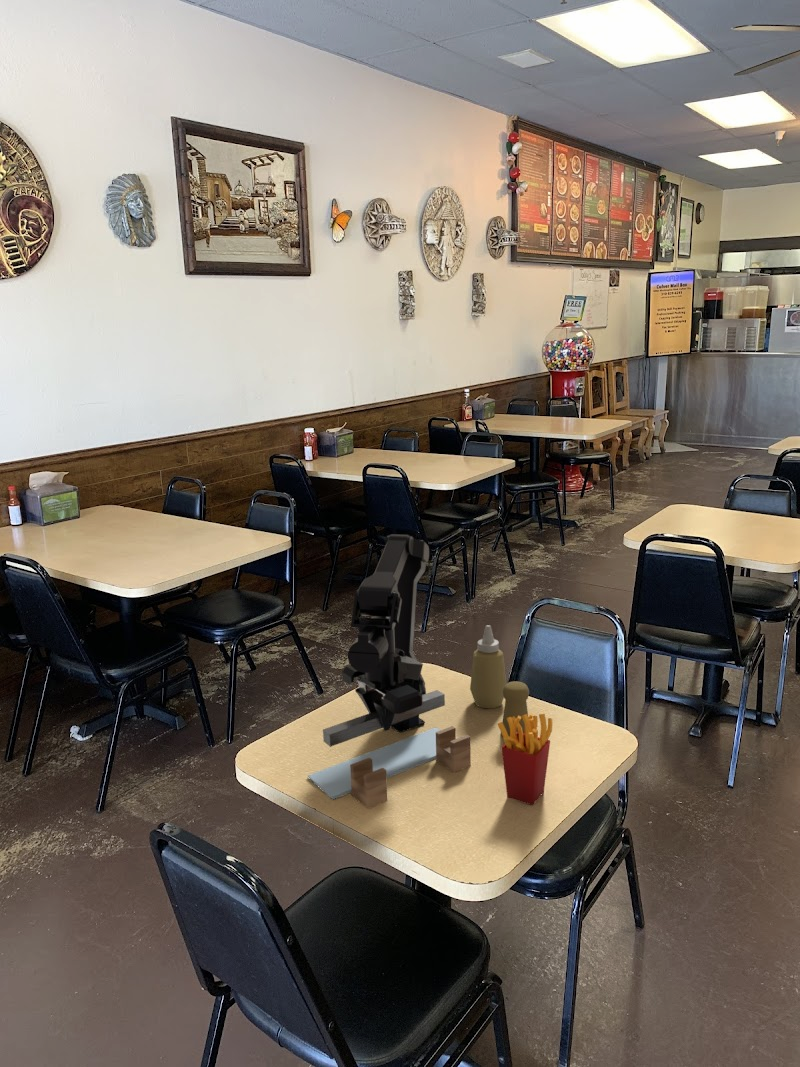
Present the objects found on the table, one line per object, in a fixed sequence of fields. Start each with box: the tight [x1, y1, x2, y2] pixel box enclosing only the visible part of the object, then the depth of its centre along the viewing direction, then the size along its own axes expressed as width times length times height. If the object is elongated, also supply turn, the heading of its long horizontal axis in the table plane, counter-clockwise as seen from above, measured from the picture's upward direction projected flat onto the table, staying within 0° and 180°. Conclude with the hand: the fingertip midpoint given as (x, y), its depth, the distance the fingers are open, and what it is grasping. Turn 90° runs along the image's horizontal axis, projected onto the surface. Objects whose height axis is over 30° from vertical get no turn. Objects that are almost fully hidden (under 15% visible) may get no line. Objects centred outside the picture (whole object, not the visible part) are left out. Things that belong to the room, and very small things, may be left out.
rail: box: [322, 689, 446, 747], centre depth 150 cm, size 26×2×2 cm, turn 125°
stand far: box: [435, 725, 472, 773], centre depth 151 cm, size 5×4×6 cm
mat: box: [307, 727, 441, 801], centre depth 153 cm, size 9×30×1 cm, turn 125°
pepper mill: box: [500, 680, 530, 738], centre depth 160 cm, size 6×6×11 cm
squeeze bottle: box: [469, 624, 507, 709], centre depth 173 cm, size 8×8×18 cm
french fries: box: [497, 713, 553, 806], centre depth 140 cm, size 9×8×15 cm
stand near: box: [350, 758, 388, 810], centre depth 140 cm, size 5×4×6 cm
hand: (382, 727), depth 150 cm, fingers closed on rail, 2 cm apart
